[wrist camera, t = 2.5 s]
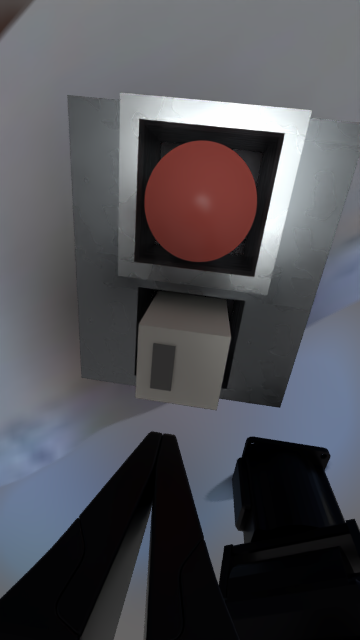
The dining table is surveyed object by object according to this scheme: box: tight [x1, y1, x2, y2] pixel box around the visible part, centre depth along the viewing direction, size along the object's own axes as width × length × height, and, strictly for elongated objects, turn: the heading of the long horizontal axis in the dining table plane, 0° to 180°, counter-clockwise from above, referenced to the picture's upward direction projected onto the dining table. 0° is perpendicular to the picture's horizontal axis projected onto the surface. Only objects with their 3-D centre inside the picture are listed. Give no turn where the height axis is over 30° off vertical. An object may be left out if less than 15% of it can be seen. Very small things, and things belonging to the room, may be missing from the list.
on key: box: [135, 291, 231, 410], centre depth 15 cm, size 4×4×5 cm
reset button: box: [144, 141, 257, 262], centre depth 12 cm, size 4×4×5 cm
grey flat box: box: [67, 93, 360, 407], centre depth 15 cm, size 12×14×5 cm
